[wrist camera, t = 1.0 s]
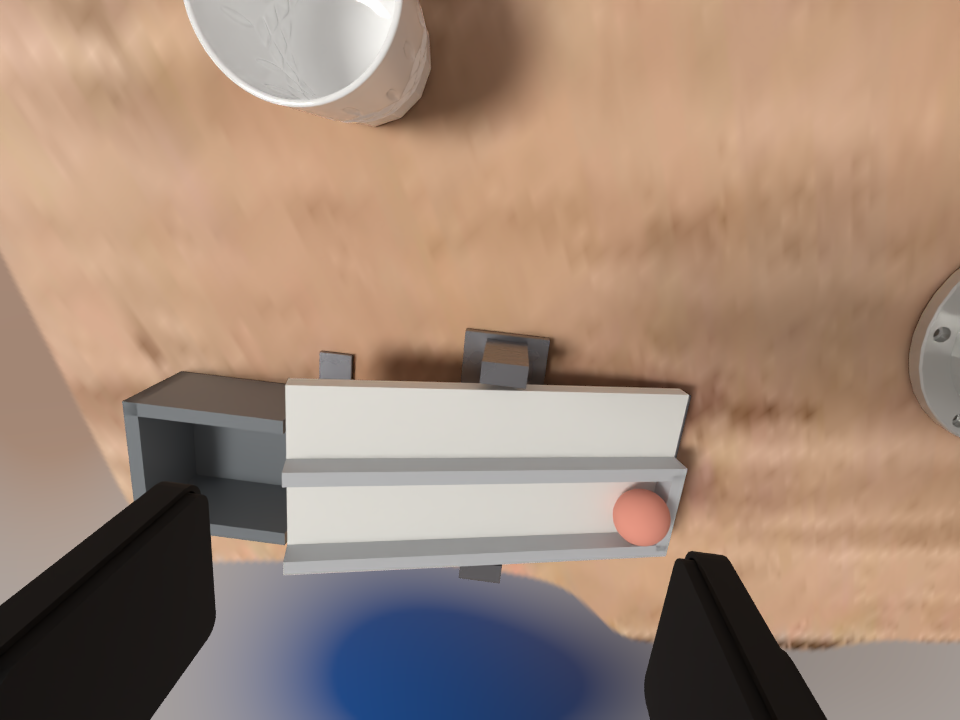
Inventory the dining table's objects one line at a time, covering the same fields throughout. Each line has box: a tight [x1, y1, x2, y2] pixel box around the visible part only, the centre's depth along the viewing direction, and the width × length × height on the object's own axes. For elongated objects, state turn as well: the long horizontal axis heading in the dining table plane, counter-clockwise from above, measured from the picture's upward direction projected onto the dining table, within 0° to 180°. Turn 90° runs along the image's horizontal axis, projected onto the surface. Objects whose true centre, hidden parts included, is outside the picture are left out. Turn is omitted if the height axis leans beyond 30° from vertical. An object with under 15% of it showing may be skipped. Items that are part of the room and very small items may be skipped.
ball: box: [613, 489, 671, 546], centre depth 30 cm, size 3×3×3 cm
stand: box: [319, 329, 691, 583], centre depth 31 cm, size 23×14×5 cm, turn 84°
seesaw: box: [282, 378, 689, 575], centre depth 29 cm, size 22×10×2 cm, turn 84°
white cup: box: [183, 0, 431, 127], centre depth 22 cm, size 8×8×10 cm
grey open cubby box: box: [122, 371, 287, 545], centre depth 32 cm, size 9×8×5 cm
